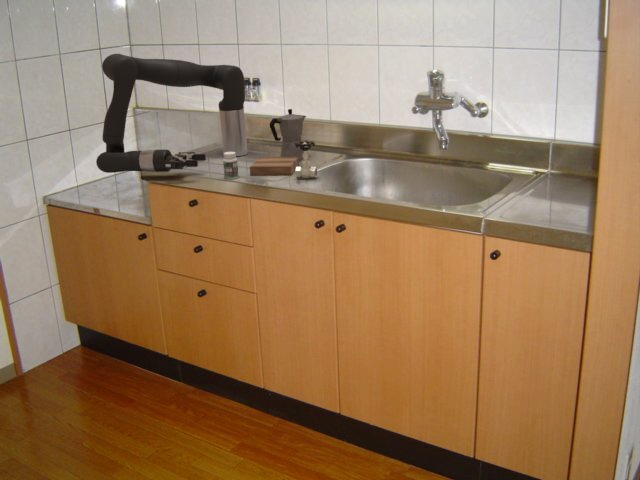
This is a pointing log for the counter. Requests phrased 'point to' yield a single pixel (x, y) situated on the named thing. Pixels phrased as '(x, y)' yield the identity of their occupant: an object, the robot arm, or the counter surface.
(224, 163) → the pill bottle
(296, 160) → the stand
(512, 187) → the counter surface
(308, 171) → the valve
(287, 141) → the coffeepot
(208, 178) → the counter surface
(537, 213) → the counter surface
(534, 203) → the counter surface
